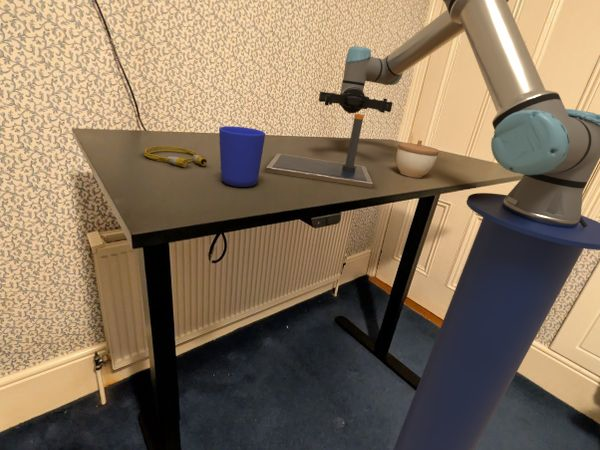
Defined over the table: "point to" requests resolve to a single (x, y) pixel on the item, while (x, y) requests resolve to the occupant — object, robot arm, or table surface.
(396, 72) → the robot arm
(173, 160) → the extension cord
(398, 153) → the trinket box
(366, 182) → the tablet
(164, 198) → the table surface
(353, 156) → the stylus
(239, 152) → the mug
